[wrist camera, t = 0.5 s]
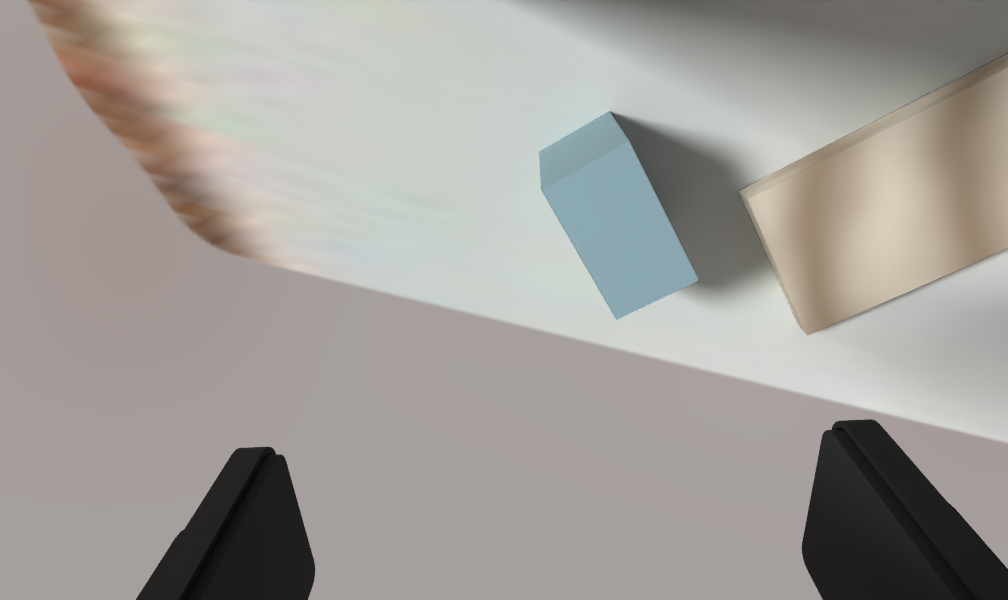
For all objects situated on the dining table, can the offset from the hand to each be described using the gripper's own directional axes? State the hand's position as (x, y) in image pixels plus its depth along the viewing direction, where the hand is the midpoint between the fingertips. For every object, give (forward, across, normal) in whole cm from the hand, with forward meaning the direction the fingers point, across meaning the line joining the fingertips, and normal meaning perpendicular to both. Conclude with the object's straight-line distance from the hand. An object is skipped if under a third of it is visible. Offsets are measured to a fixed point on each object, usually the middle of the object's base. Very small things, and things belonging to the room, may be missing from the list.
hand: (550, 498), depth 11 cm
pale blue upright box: (+24, -4, +1) cm, 24 cm away
